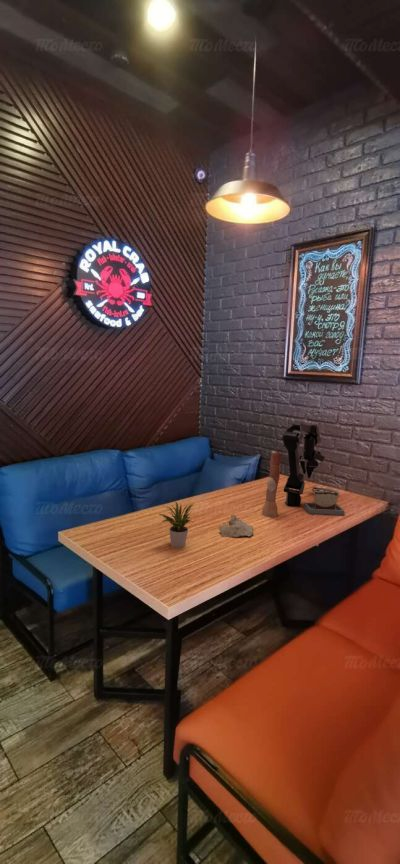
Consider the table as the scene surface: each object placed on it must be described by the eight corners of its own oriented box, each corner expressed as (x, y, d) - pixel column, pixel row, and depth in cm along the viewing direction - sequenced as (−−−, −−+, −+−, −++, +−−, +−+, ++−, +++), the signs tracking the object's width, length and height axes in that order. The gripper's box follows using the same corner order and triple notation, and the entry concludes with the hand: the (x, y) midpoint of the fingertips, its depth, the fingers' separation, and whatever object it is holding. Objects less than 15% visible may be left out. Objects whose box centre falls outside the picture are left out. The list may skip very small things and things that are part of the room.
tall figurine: (270, 518, 194) (275, 453, 190) (257, 513, 199) (262, 450, 195) (283, 513, 201) (288, 451, 197) (271, 509, 206) (275, 448, 202)
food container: (333, 508, 212) (335, 488, 211) (337, 512, 206) (339, 492, 205) (308, 507, 212) (310, 487, 211) (312, 511, 206) (313, 490, 204)
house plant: (178, 533, 170) (180, 493, 168) (205, 543, 161) (207, 501, 159) (152, 543, 159) (154, 501, 157) (180, 554, 150) (182, 510, 148)
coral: (225, 541, 165) (226, 529, 164) (209, 527, 180) (209, 515, 179) (265, 537, 172) (266, 525, 171) (246, 523, 187) (246, 512, 186)
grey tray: (309, 514, 202) (309, 509, 202) (303, 507, 213) (303, 502, 212) (343, 515, 203) (344, 510, 202) (336, 508, 213) (336, 503, 213)
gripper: (329, 451, 217) (326, 480, 220) (318, 445, 236) (316, 472, 238) (308, 450, 217) (305, 479, 219) (298, 444, 236) (296, 471, 238)
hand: (306, 475), depth 229 cm, fingers open, 9 cm apart
